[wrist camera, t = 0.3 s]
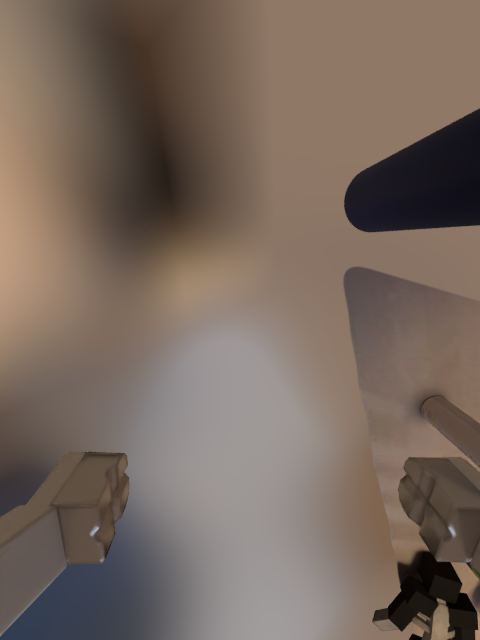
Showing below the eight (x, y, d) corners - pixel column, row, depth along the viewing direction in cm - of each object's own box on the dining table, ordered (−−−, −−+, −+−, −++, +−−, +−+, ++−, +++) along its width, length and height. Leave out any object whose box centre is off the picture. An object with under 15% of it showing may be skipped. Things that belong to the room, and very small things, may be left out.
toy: (444, 655, 61) (503, 566, 51) (478, 762, 48) (564, 670, 39) (352, 620, 64) (392, 530, 55) (362, 711, 52) (416, 615, 43)
